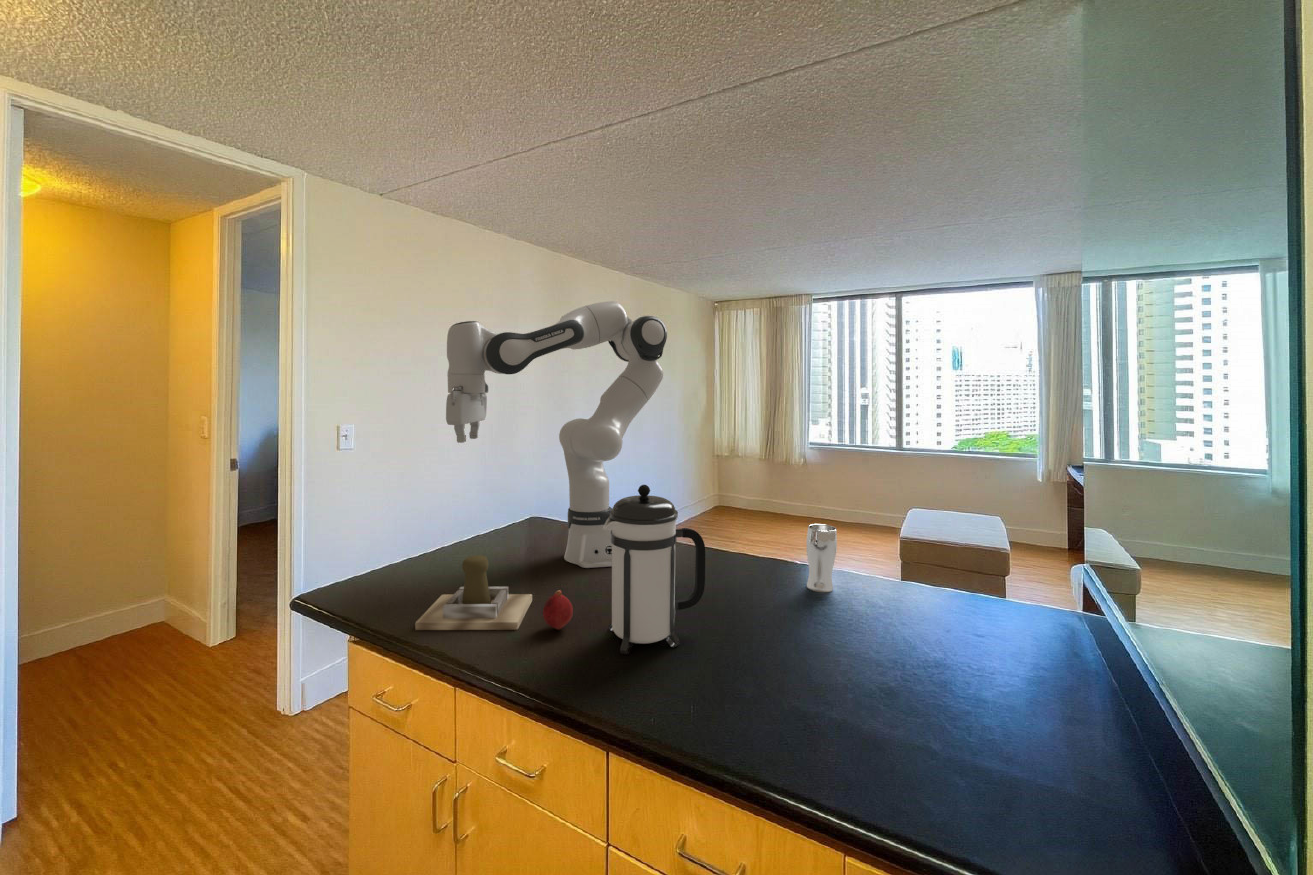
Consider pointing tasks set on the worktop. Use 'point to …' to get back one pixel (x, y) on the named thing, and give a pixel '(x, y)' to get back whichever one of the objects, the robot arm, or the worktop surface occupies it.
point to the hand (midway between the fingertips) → (467, 440)
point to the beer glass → (821, 556)
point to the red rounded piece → (557, 611)
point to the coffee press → (648, 569)
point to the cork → (476, 580)
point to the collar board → (476, 612)
